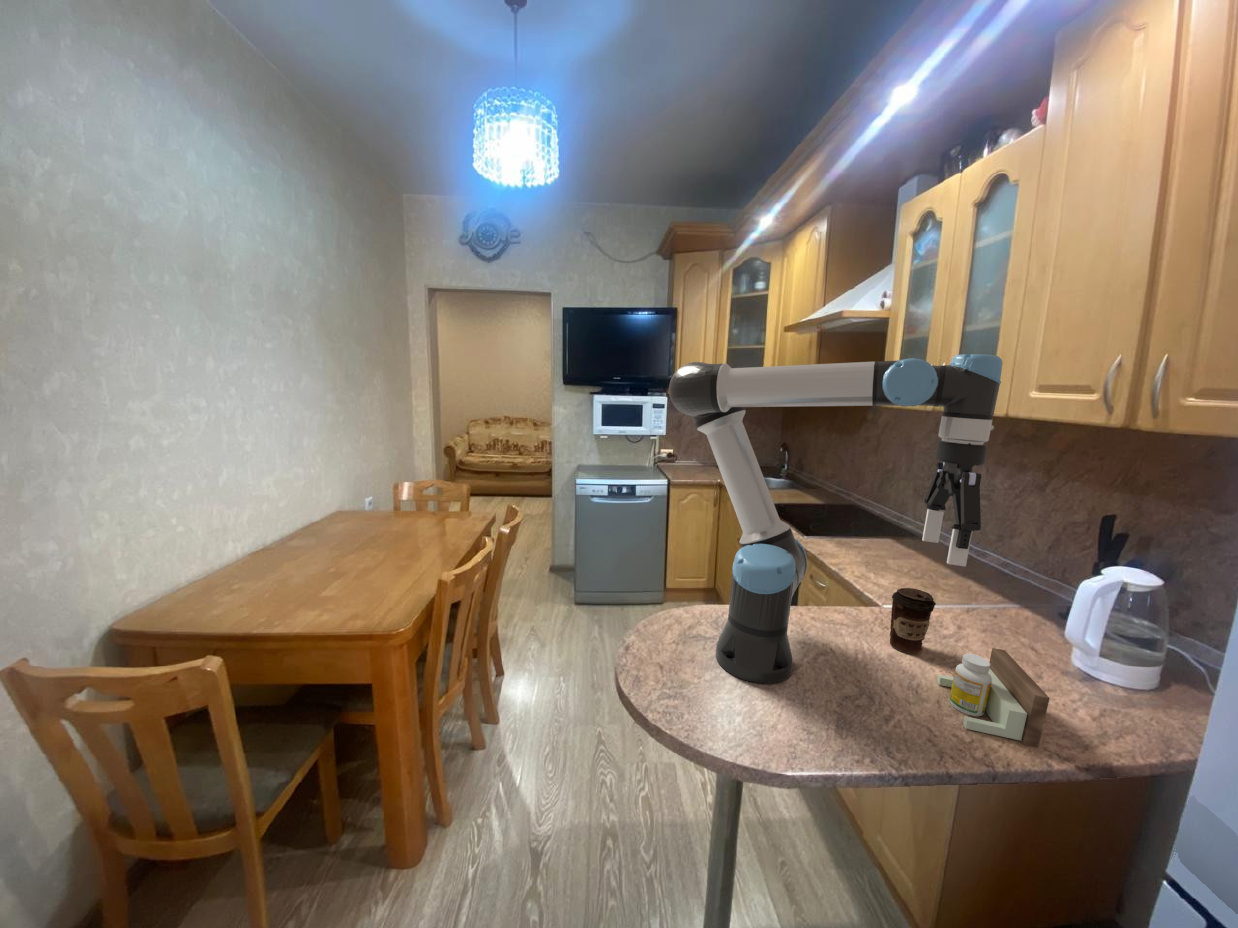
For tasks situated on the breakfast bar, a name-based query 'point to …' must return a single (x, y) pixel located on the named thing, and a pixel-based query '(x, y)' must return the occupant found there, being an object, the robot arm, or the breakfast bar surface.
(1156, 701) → the breakfast bar surface
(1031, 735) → the backstop wall
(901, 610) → the coffee cup
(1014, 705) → the slot block
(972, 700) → the supplement bottle
